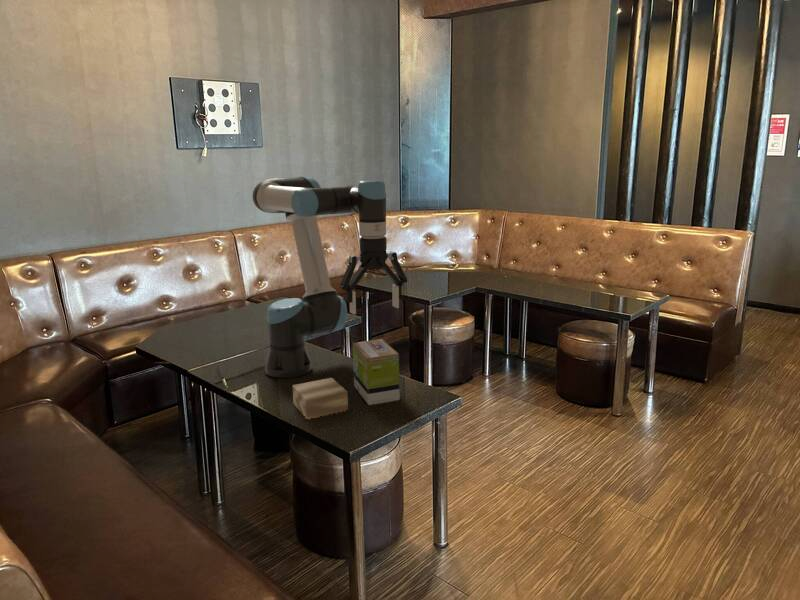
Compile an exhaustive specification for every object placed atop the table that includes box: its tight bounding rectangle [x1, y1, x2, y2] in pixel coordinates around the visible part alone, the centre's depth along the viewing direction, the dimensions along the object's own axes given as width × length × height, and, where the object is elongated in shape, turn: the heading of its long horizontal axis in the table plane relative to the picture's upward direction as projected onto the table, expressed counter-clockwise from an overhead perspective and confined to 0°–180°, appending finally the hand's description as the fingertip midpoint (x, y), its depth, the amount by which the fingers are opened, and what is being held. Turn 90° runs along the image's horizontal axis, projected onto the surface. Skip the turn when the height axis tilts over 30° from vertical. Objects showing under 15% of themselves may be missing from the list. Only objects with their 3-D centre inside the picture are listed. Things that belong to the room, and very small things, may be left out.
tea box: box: [352, 338, 401, 406], centre depth 178 cm, size 15×10×15 cm, turn 21°
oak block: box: [292, 377, 349, 420], centre depth 170 cm, size 12×12×6 cm
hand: (374, 310), depth 173 cm, fingers open, 13 cm apart
